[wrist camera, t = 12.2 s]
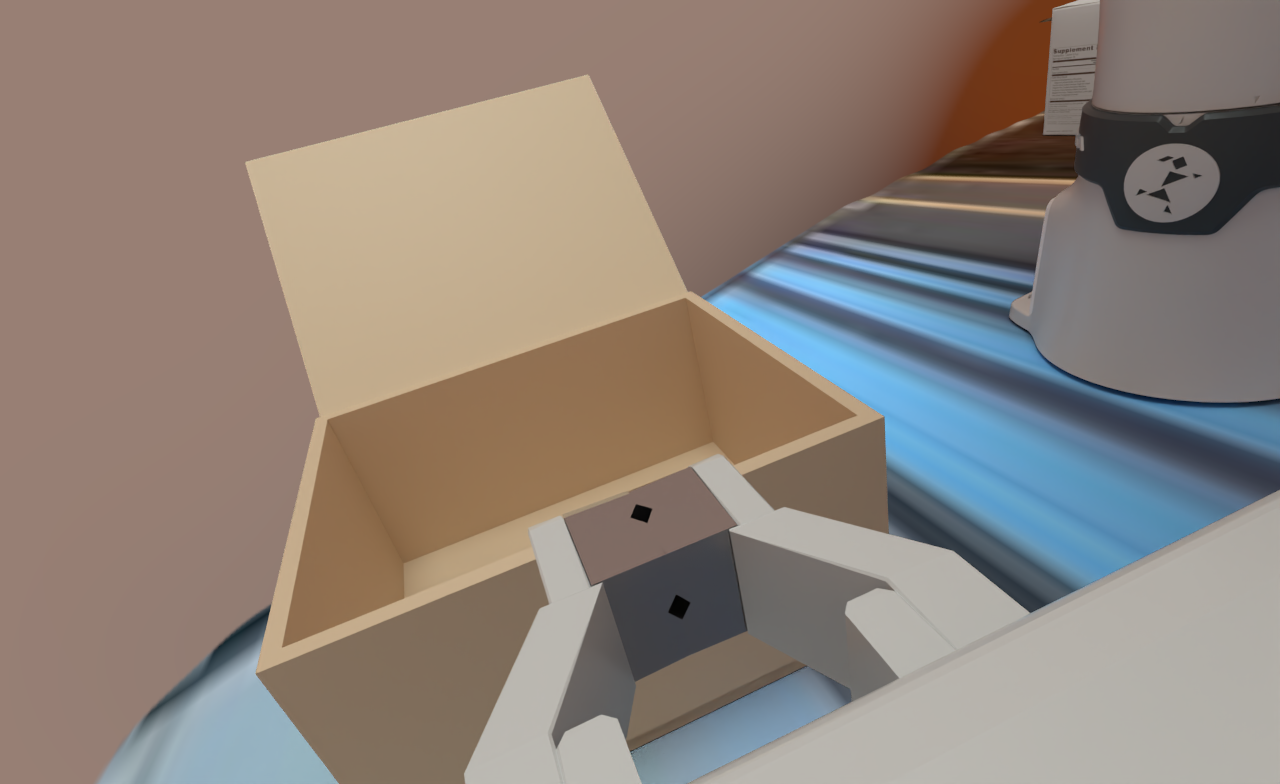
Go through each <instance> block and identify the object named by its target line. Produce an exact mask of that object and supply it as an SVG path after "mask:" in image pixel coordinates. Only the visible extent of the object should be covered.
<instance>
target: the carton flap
mask: <svg viewBox="0 0 1280 784" xmlns="http://www.w3.org/2000/svg"><path fill="white" fill-rule="evenodd" d="M245 164H246V167H247V171H248V174H249V177H250V181H251V184H252V188H253V191H254V194H255V198H256V201H257V205H258V208H259V211H260V215H261V218H262V222H263V225H264V228H265V232H266V235H267V239H268V242H269V245H270V249H271V252H272V256H273V259H274V262H275V266H276V269H277V272H278V276H279V279H280V283H281V286H282V289H283V293H284V296H285V300H286V303H287V306H288V310H289V313H290V316H291V320H292V323H293V327H294V330H295V334H296V337H297V340H298V344H299V347H300V350H301V354H302V357H303V361H304V364H305V367H306V371H307V374H308V377H309V381H310V385H311V388H312V391H313V395H314V398H315V401H316V405H317V408H318V411H319V415H320V417H321V416H324V415H327V414H330V413H333V412H336V411H339V410H342V409H345V408H348V407H351V406H354V405H357V404H360V403H363V402H366V401H369V400H372V399H375V398H378V397H381V396H383V395H386V394H389V393H392V392H395V391H398V390H401V389H404V388H407V387H410V386H413V385H416V384H419V383H422V382H425V381H428V380H431V379H434V378H437V377H440V376H443V375H445V374H448V373H451V372H454V371H457V370H460V369H463V368H466V367H469V366H472V365H475V364H478V363H481V362H484V361H487V360H490V359H493V358H496V357H499V356H502V355H505V354H508V353H510V352H513V351H516V350H519V349H522V348H525V347H528V346H531V345H534V344H537V343H540V342H543V341H546V340H549V339H552V338H555V337H558V336H561V335H564V334H567V333H570V332H572V331H575V330H578V329H581V328H584V327H587V326H590V325H593V324H596V323H599V322H602V321H605V320H608V319H611V318H614V317H617V316H620V315H623V314H626V313H629V312H632V311H634V310H637V309H640V308H643V307H646V306H649V305H652V304H655V303H658V302H661V301H664V300H667V299H670V298H673V297H676V296H679V295H682V294H685V293H688V292H687V289H686V287H685V285H684V283H683V281H682V278H681V276H680V274H679V272H678V270H677V268H676V265H675V263H674V261H673V259H672V257H671V254H670V252H669V250H668V248H667V246H666V243H665V241H664V239H663V237H662V235H661V232H660V230H659V228H658V226H657V224H656V221H655V219H654V217H653V215H652V213H651V211H650V208H649V206H648V204H647V202H646V200H645V197H644V195H643V193H642V191H641V189H640V186H639V184H638V182H637V180H636V178H635V176H634V173H633V172H632V169H631V167H630V165H629V162H628V160H627V158H626V156H625V154H624V151H623V149H622V147H621V145H620V143H619V140H618V138H617V136H616V134H615V132H614V130H613V127H612V125H611V123H610V121H609V118H608V116H607V114H606V112H605V110H604V108H603V105H602V104H601V101H600V99H599V97H598V94H597V93H596V90H595V88H594V86H593V83H592V81H591V79H590V77H589V75H585V76H581V77H577V78H573V79H569V80H565V81H561V82H557V83H554V84H549V85H545V86H541V87H538V88H534V89H530V90H526V91H522V92H518V93H514V94H510V95H506V96H502V97H498V98H494V99H491V100H487V101H483V102H479V103H475V104H471V105H467V106H463V107H459V108H456V109H451V110H447V111H443V112H440V113H436V114H432V115H428V116H424V117H420V118H416V119H412V120H408V121H404V122H400V123H396V124H393V125H389V126H385V127H381V128H377V129H373V130H369V131H365V132H361V133H358V134H353V135H349V136H346V137H342V138H338V139H334V140H330V141H326V142H322V143H318V144H315V145H310V146H306V147H303V148H299V149H295V150H291V151H287V152H283V153H279V154H275V155H271V156H267V157H264V158H260V159H255V160H252V161H248V162H245Z"/></svg>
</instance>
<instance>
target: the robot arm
mask: <svg viewBox="0 0 1280 784" xmlns="http://www.w3.org/2000/svg"><path fill="white" fill-rule="evenodd" d="M1075 145H1076V147H1077V148H1076V157H1075V166H1074V169H1075V171H1076V172H1077V174H1079V176H1078V178H1077V179H1076V181H1075V182H1074V183H1073V184H1072V185H1071V186H1069V187H1068V188H1067V189H1065V190H1063V191H1062V192H1061V193H1059V194H1058V195H1057V196H1056V198H1053V199H1052V200H1051V201H1050V202H1049V204H1048V206H1047V208H1046V213H1045V218H1044V224H1043V230H1042V235H1041V241H1040V247H1039V253H1038V259H1037V265H1036V271H1035V278H1034V284H1033V290H1032V292H1030V293H1028V294H1026V295H1024V296H1022V297H1020V298H1018V299H1016V300H1014V301H1013V302H1012V304H1011V308H1010V313H1009V317H1010V319H1011V320H1012V321H1014V322H1015V323H1016V324H1018V325H1019V326H1021V327H1023V328H1024V329H1026V330H1028V331H1029V332H1030V333H1031V335H1032V336H1033V339H1034V341H1035V344H1036V346H1037V348H1038V350H1039V351H1040V352H1041V353H1042V355H1043V356H1044V357H1045V358H1047V359H1048V360H1049V361H1050V362H1052V363H1053V364H1054V365H1056V366H1057V367H1059V368H1061V369H1062V370H1064V371H1066V372H1068V373H1070V374H1072V375H1075V376H1077V377H1079V378H1082V379H1084V380H1087V381H1090V382H1092V383H1095V384H1098V385H1102V386H1105V387H1109V388H1112V389H1116V390H1120V391H1124V392H1129V393H1133V394H1139V395H1144V396H1150V397H1156V398H1164V399H1172V400H1182V401H1195V402H1251V401H1263V400H1272V399H1279V398H1280V0H1100V10H1099V31H1098V44H1097V58H1096V68H1095V79H1094V89H1093V96H1092V99H1090V100H1089V101H1088V102H1087V103H1086V104H1085V105H1084V106H1083V107H1082V114H1081V120H1080V126H1079V127H1078V128H1077V131H1076V139H1075ZM562 515H563V517H561V516H557V517H555V518H552V519H549V520H547V521H544V522H542V523H539V524H536V525H534V526H531V527H529V528H528V535H529V538H530V542H531V545H532V548H533V552H534V555H535V558H536V562H537V565H538V568H539V571H540V575H541V578H542V581H543V585H544V588H545V591H546V595H547V598H548V601H549V605H547V606H544V607H542V608H540V609H539V610H538V612H537V615H536V617H535V619H534V621H533V623H532V626H531V628H530V630H529V632H528V634H527V637H526V639H525V641H524V643H523V645H522V648H521V650H520V652H519V654H518V656H517V659H516V661H515V663H514V665H513V667H512V670H511V672H510V674H509V676H508V678H507V681H506V683H505V685H504V687H503V689H502V692H501V694H500V696H499V698H498V700H497V703H496V705H495V707H494V709H493V711H492V713H491V716H490V718H489V720H488V722H487V724H486V727H485V729H484V731H483V733H482V735H481V738H480V740H479V742H478V744H477V746H476V749H475V751H474V753H473V755H472V757H471V760H470V762H469V764H468V766H467V768H466V771H465V773H464V777H465V784H642V783H641V781H640V778H639V775H638V773H637V770H636V767H635V764H634V762H633V759H632V756H631V754H630V751H629V748H628V746H627V743H626V738H627V733H628V727H629V722H630V716H631V711H632V705H633V700H634V694H635V689H636V684H635V682H636V681H638V680H640V679H642V678H644V677H646V676H648V675H650V674H652V673H654V672H656V671H658V670H660V669H662V668H665V667H667V666H669V665H671V664H673V663H675V662H677V661H679V660H681V659H683V658H685V657H687V656H689V655H691V654H694V653H696V652H699V651H701V650H703V649H706V648H708V647H710V646H713V645H715V644H718V643H720V642H722V641H725V640H727V639H730V638H732V637H734V636H737V635H739V634H741V633H744V632H746V631H748V634H750V635H751V636H753V637H755V638H757V639H759V640H761V641H763V642H764V643H766V644H768V645H770V646H772V647H774V648H775V649H777V650H779V651H781V652H783V653H785V654H787V655H788V656H790V657H792V658H794V659H796V660H798V661H799V662H801V663H803V664H805V665H807V666H809V667H811V668H812V669H814V670H816V671H818V672H820V673H822V674H823V675H825V676H827V677H829V678H831V679H833V680H835V681H836V682H838V683H840V684H842V685H844V686H846V687H848V688H849V689H851V698H852V702H851V703H849V704H847V705H845V706H843V707H841V708H839V709H837V710H835V711H833V712H831V713H829V714H827V715H825V716H823V717H821V718H818V719H816V720H814V721H812V722H810V723H808V724H806V725H804V726H802V727H800V728H798V729H796V730H794V731H792V732H790V733H788V734H786V735H784V736H782V737H780V738H778V739H776V740H774V741H772V742H770V743H768V744H766V745H764V746H762V747H760V748H758V749H756V750H754V751H752V752H750V753H748V754H746V755H744V756H742V757H740V758H738V759H736V760H734V761H732V762H730V763H728V764H726V765H724V766H722V767H720V768H718V769H716V770H714V771H712V772H710V773H708V774H705V775H703V776H701V777H699V778H697V779H695V780H693V781H691V782H689V783H687V784H1280V490H1278V491H1276V492H1274V493H1272V494H1270V495H1268V496H1266V497H1264V498H1262V499H1260V500H1258V501H1256V502H1254V503H1252V504H1250V505H1248V506H1246V507H1244V508H1242V509H1240V510H1238V511H1236V512H1234V513H1232V514H1230V515H1228V516H1226V517H1224V518H1222V519H1220V520H1218V521H1216V522H1214V523H1212V524H1210V525H1208V526H1206V527H1204V528H1202V529H1200V530H1198V531H1196V532H1194V533H1192V534H1190V535H1188V536H1186V537H1184V538H1182V539H1180V540H1177V541H1175V542H1173V543H1171V544H1169V545H1167V546H1165V547H1163V548H1161V549H1159V550H1157V551H1155V552H1153V553H1151V554H1149V555H1147V556H1145V557H1143V558H1141V559H1139V560H1137V561H1135V562H1133V563H1131V564H1129V565H1127V566H1125V567H1123V568H1121V569H1119V570H1117V571H1115V572H1113V573H1111V574H1109V575H1107V576H1105V577H1103V578H1101V579H1099V580H1097V581H1095V582H1093V583H1091V584H1089V585H1087V586H1085V587H1083V588H1081V589H1079V590H1076V591H1074V592H1072V593H1070V594H1068V595H1066V596H1064V597H1062V598H1060V599H1058V600H1056V601H1054V602H1052V603H1050V604H1048V605H1046V606H1044V607H1042V608H1040V609H1038V610H1036V611H1034V612H1032V613H1029V612H1028V611H1027V610H1026V609H1024V608H1023V607H1022V606H1021V605H1019V604H1018V603H1017V602H1016V601H1014V600H1013V599H1012V598H1011V597H1010V596H1008V595H1007V594H1006V593H1005V592H1003V591H1002V590H1001V589H1000V588H998V587H997V586H996V585H995V584H993V583H992V582H991V581H990V580H989V579H987V578H986V577H985V576H984V575H982V574H981V573H980V572H979V571H977V570H976V569H975V568H974V567H972V566H971V565H970V564H969V563H968V562H966V561H965V560H964V559H963V558H961V557H960V556H959V555H958V554H956V553H955V552H954V551H951V550H947V549H944V548H940V547H936V546H932V545H928V544H924V543H921V542H917V541H913V540H909V539H905V538H901V537H898V536H894V535H890V534H886V533H882V532H878V531H874V530H871V529H867V528H863V527H859V526H855V525H851V524H848V523H844V522H840V521H836V520H832V519H828V518H825V517H821V516H817V515H813V514H809V513H805V512H802V511H798V510H794V509H790V508H786V507H783V508H780V509H778V510H774V509H773V508H772V507H771V506H770V505H769V504H768V503H767V501H766V500H765V499H764V498H763V497H762V496H761V495H760V494H759V493H758V492H757V491H756V490H755V489H754V488H753V487H752V486H751V484H750V483H749V482H748V481H747V480H746V479H745V478H744V477H743V476H742V475H741V474H740V473H739V472H738V471H737V470H736V468H735V467H734V466H733V465H732V464H731V463H730V462H729V461H728V460H727V459H726V458H725V457H724V456H723V455H720V454H716V455H714V456H711V457H709V458H706V459H704V460H702V461H699V462H697V463H695V464H692V465H690V466H688V468H685V469H683V470H680V471H678V472H675V473H673V474H670V475H668V476H665V477H663V478H660V479H658V480H655V481H653V482H650V483H648V484H645V485H643V486H640V487H638V488H635V489H633V490H630V491H626V492H623V493H620V494H617V495H615V496H612V497H609V498H606V499H604V500H601V501H598V502H595V503H593V504H590V505H587V506H584V507H582V508H579V509H576V510H573V511H571V512H568V513H565V514H562Z"/></svg>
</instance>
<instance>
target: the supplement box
mask: <svg viewBox="0 0 1280 784" xmlns="http://www.w3.org/2000/svg"><path fill="white" fill-rule="evenodd" d="M1099 10H1100V0H1078V1H1075V2H1072V3H1069V4H1066V5H1063V6H1059V7H1056V8H1054V9H1053V12H1052V26H1051V40H1050V53H1049V66H1048V78H1047V91H1046V104H1045V117H1044V131H1043V135H1076V131H1077V128H1078V127H1079V126H1080V120H1081V114H1082V107H1083V106H1084V105H1085V104H1086V103H1087V102H1088V101H1089V100H1090V99H1092V96H1093V89H1094V79H1095V68H1096V58H1097V44H1098V31H1099Z"/></svg>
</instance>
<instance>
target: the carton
mask: <svg viewBox="0 0 1280 784" xmlns="http://www.w3.org/2000/svg"><path fill="white" fill-rule="evenodd" d="M716 454H720V455H723V456H724V457H725V458H726V459H727V460H728V461H729V462H730V463H731V464H732V465H733V466H734V467H735V468H736V470H737V471H738V472H739V473H740V474H741V475H742V476H743V477H744V478H745V479H746V480H747V481H748V482H749V483H750V484H751V486H752V487H753V488H754V489H755V490H756V491H757V492H758V493H759V494H760V495H761V496H762V497H763V498H764V499H765V500H766V501H767V503H768V504H769V505H770V506H771V507H772V508H773V509H774V510H778V509H780V508H783V507H786V508H790V509H794V510H798V511H802V512H805V513H809V514H813V515H817V516H821V517H825V518H828V519H832V520H836V521H840V522H844V523H848V524H851V525H855V526H859V527H863V528H867V529H871V530H874V531H878V532H882V533H886V534H889V528H888V501H887V474H886V448H885V421H884V416H883V415H881V414H879V413H878V412H876V411H875V410H873V409H872V408H870V407H869V406H867V405H866V404H864V403H862V402H861V401H859V400H858V399H856V398H855V397H853V396H852V395H850V394H849V393H847V392H846V391H844V390H842V389H841V388H839V387H838V386H836V385H835V384H833V383H832V382H830V381H829V380H827V379H826V378H824V377H822V376H821V375H819V374H818V373H816V372H815V371H813V370H812V369H810V368H809V367H807V366H806V365H804V364H802V363H801V362H799V361H798V360H796V359H795V358H793V357H792V356H790V355H789V354H787V353H786V352H784V351H782V350H781V349H779V348H778V347H776V346H775V345H773V344H772V343H770V342H769V341H767V340H765V339H764V338H762V337H761V336H759V335H758V334H756V333H755V332H753V331H752V330H750V329H749V328H747V327H745V326H744V325H742V324H741V323H739V322H738V321H736V320H735V319H733V318H732V317H730V316H729V315H727V314H725V313H724V312H722V311H721V310H719V309H718V308H716V307H715V306H713V305H712V304H710V303H709V302H707V301H705V300H704V299H702V298H701V297H699V296H698V295H696V294H695V293H693V292H688V293H685V294H682V295H679V296H676V297H673V298H670V299H667V300H664V301H661V302H658V303H655V304H652V305H649V306H646V307H643V308H640V309H637V310H634V311H632V312H629V313H626V314H623V315H620V316H617V317H614V318H611V319H608V320H605V321H602V322H599V323H596V324H593V325H590V326H587V327H584V328H581V329H578V330H575V331H572V332H570V333H567V334H564V335H561V336H558V337H555V338H552V339H549V340H546V341H543V342H540V343H537V344H534V345H531V346H528V347H525V348H522V349H519V350H516V351H513V352H510V353H508V354H505V355H502V356H499V357H496V358H493V359H490V360H487V361H484V362H481V363H478V364H475V365H472V366H469V367H466V368H463V369H460V370H457V371H454V372H451V373H448V374H445V375H443V376H440V377H437V378H434V379H431V380H428V381H425V382H422V383H419V384H416V385H413V386H410V387H407V388H404V389H401V390H398V391H395V392H392V393H389V394H386V395H383V396H381V397H378V398H375V399H372V400H369V401H366V402H363V403H360V404H357V405H354V406H351V407H348V408H345V409H342V410H339V411H336V412H333V413H330V414H327V415H324V416H321V417H319V418H316V420H315V424H314V428H313V433H312V437H311V441H310V445H309V450H308V454H307V458H306V462H305V467H304V471H303V475H302V479H301V483H300V488H299V492H298V496H297V501H296V505H295V509H294V513H293V517H292V521H291V526H290V530H289V534H288V539H287V542H286V547H285V551H284V555H283V560H282V564H281V568H280V572H279V576H278V581H277V585H276V589H275V593H274V597H273V602H272V606H271V610H270V614H269V619H268V623H267V627H266V631H265V635H264V640H263V644H262V648H261V652H260V657H259V661H258V665H257V669H256V673H255V674H256V675H257V676H258V678H259V679H260V680H261V682H262V683H263V684H264V686H265V687H266V688H267V690H268V691H269V692H270V694H271V695H272V696H273V697H274V699H275V700H276V701H277V703H278V704H279V705H280V707H281V708H282V709H283V711H284V712H285V713H286V715H287V716H288V717H289V719H290V720H291V721H292V722H293V724H294V725H295V726H296V728H297V729H298V730H299V732H300V733H301V734H302V736H303V737H304V738H305V740H306V741H307V742H308V743H309V745H310V746H311V747H312V749H313V750H314V751H315V753H316V754H317V755H318V757H319V758H320V759H321V761H322V762H323V763H324V764H325V766H326V767H327V768H328V770H329V771H330V772H331V774H332V775H333V776H334V778H335V779H336V780H337V782H338V783H339V784H465V777H464V773H465V771H466V768H467V766H468V764H469V762H470V760H471V757H472V755H473V753H474V751H475V749H476V746H477V744H478V742H479V740H480V738H481V735H482V733H483V731H484V729H485V727H486V724H487V722H488V720H489V718H490V716H491V713H492V711H493V709H494V707H495V705H496V703H497V700H498V698H499V696H500V694H501V692H502V689H503V687H504V685H505V683H506V681H507V678H508V676H509V674H510V672H511V670H512V667H513V665H514V663H515V661H516V659H517V656H518V654H519V652H520V650H521V648H522V645H523V643H524V641H525V639H526V637H527V634H528V632H529V630H530V628H531V626H532V623H533V621H534V619H535V617H536V615H537V612H538V610H539V609H540V608H542V607H544V606H547V605H549V601H548V598H547V595H546V591H545V588H544V585H543V581H542V578H541V575H540V571H539V568H538V565H537V562H536V558H535V555H534V552H533V548H532V545H531V542H530V538H529V535H528V528H529V527H531V526H534V525H536V524H539V523H542V522H544V521H547V520H549V519H552V518H555V517H557V516H561V517H563V515H562V514H565V513H568V512H571V511H573V510H576V509H579V508H582V507H584V506H587V505H590V504H593V503H595V502H598V501H601V500H604V499H606V498H609V497H612V496H615V495H617V494H620V493H623V492H626V491H630V490H633V489H635V488H638V487H640V486H643V485H645V484H648V483H650V482H653V481H655V480H658V479H660V478H663V477H665V476H668V475H670V474H673V473H675V472H678V471H680V470H683V469H685V468H688V466H690V465H692V464H695V463H697V462H699V461H702V460H704V459H706V458H709V457H711V456H714V455H716ZM804 666H807V665H805V664H803V663H801V662H799V661H798V660H796V659H794V658H792V657H790V656H788V655H787V654H785V653H783V652H781V651H779V650H777V649H775V648H774V647H772V646H770V645H768V644H766V643H764V642H763V641H761V640H759V639H757V638H755V637H753V636H751V635H750V634H748V631H746V632H744V633H741V634H739V635H737V636H734V637H732V638H730V639H727V640H725V641H722V642H720V643H718V644H715V645H713V646H710V647H708V648H706V649H703V650H701V651H699V652H696V653H694V654H691V655H689V656H687V657H685V658H683V659H681V660H679V661H677V662H675V663H673V664H671V665H669V666H667V667H665V668H662V669H660V670H658V671H656V672H654V673H652V674H650V675H648V676H646V677H644V678H642V679H640V680H638V681H636V682H635V684H636V689H635V694H634V700H633V705H632V711H631V716H630V722H629V727H628V733H627V738H626V743H627V746H628V748H629V751H632V750H634V749H636V748H638V747H640V746H642V745H644V744H646V743H648V742H650V741H652V740H654V739H656V738H658V737H661V736H663V735H665V734H667V733H669V732H671V731H673V730H675V729H677V728H679V727H681V726H683V725H685V724H687V723H689V722H691V721H693V720H696V719H698V718H700V717H702V716H704V715H706V714H708V713H710V712H712V711H714V710H716V709H718V708H720V707H722V706H724V705H726V704H728V703H730V702H733V701H735V700H737V699H739V698H741V697H743V696H745V695H747V694H749V693H751V692H753V691H755V690H757V689H759V688H761V687H763V686H765V685H767V684H770V683H772V682H774V681H776V680H778V679H780V678H782V677H784V676H786V675H788V674H790V673H792V672H794V671H796V670H798V669H800V668H802V667H804Z"/></svg>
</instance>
